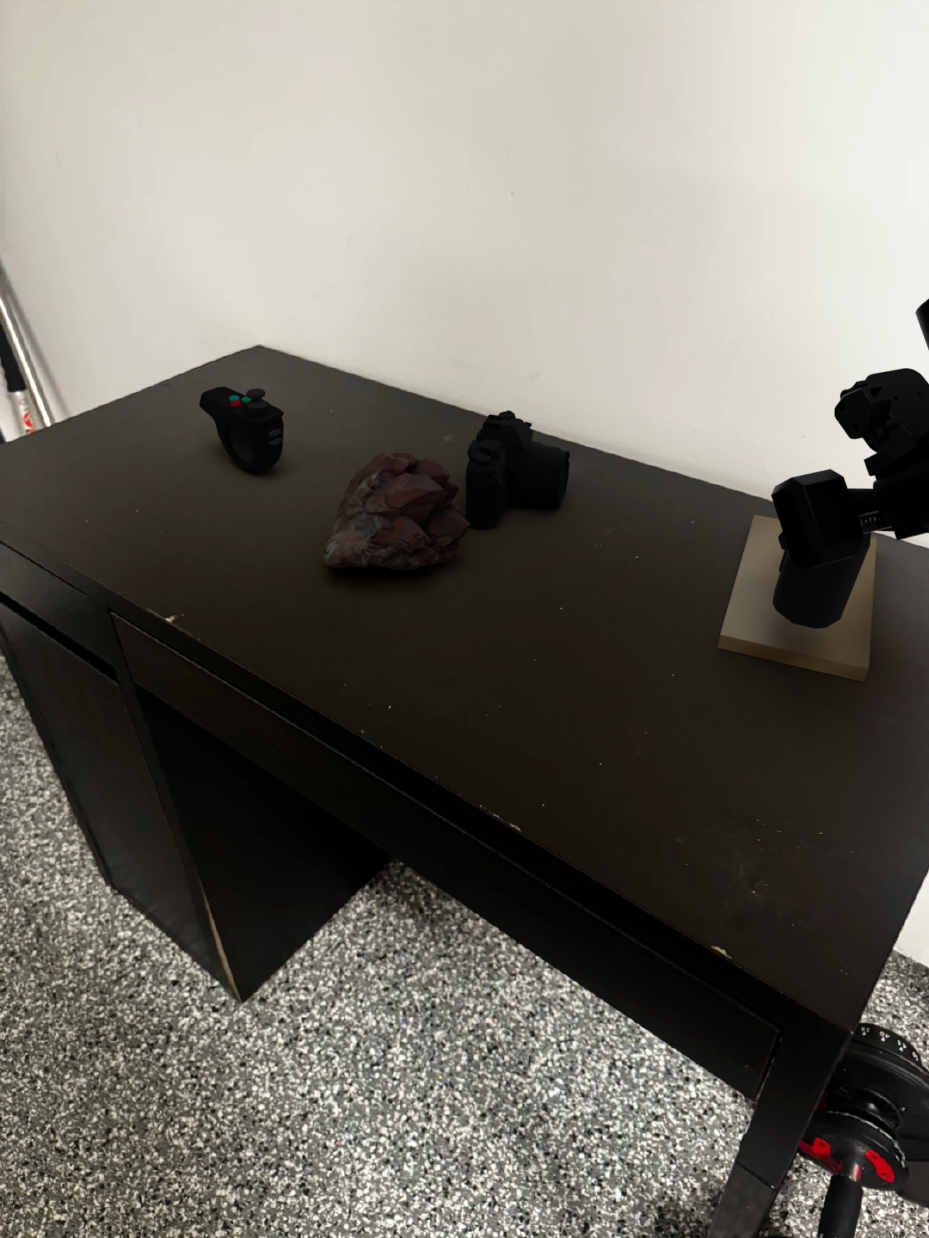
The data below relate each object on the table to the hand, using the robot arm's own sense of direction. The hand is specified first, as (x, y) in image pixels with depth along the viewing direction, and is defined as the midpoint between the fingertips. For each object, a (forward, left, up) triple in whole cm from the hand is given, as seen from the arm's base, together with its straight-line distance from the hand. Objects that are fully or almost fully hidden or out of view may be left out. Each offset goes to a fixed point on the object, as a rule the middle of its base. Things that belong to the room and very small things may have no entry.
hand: (822, 533), depth 71 cm
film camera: (+30, -15, -11) cm, 36 cm away
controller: (+62, -11, -11) cm, 64 cm away
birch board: (0, -8, -11) cm, 14 cm away
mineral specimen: (+37, +1, -11) cm, 39 cm away
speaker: (-1, +1, -7) cm, 7 cm away
